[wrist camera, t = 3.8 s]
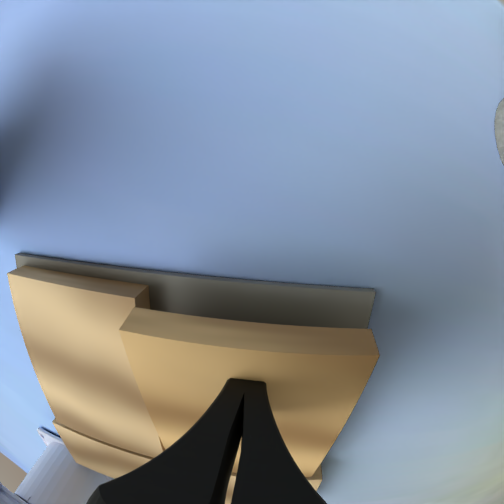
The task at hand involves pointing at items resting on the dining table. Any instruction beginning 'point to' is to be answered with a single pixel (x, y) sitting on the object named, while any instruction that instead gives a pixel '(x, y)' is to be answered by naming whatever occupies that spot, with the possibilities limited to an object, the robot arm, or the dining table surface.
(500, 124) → the house plant
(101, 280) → the floor panel
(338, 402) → the oak plank
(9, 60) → the dining table surface
